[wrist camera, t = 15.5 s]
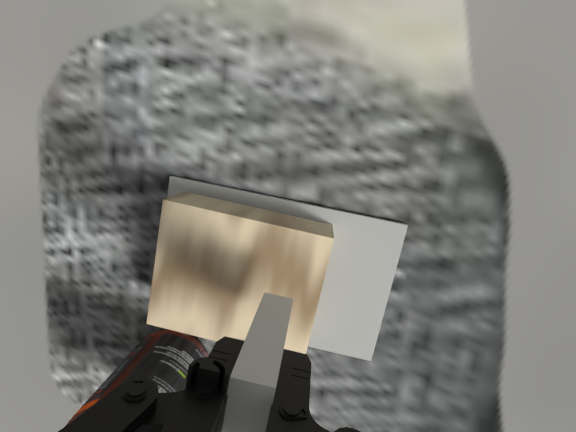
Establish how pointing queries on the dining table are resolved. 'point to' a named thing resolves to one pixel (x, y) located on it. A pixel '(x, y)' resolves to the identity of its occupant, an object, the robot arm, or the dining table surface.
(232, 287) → the small box
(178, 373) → the supplement bottle
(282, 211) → the grey mat
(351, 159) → the dining table surface
